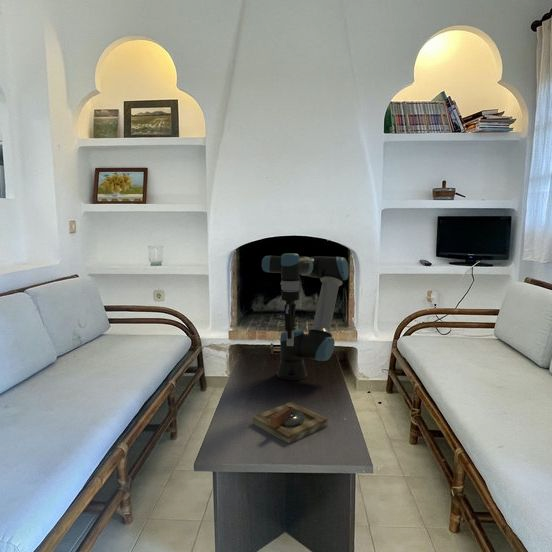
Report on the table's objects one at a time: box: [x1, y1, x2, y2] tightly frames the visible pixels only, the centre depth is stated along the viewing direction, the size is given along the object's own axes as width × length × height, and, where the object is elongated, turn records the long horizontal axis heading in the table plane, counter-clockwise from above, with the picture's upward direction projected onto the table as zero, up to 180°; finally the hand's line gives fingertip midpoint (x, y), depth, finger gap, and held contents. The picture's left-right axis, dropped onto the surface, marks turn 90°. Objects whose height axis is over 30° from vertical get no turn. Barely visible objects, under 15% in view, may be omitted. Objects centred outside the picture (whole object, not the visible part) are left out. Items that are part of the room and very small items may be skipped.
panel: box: [252, 401, 329, 444], centre depth 157 cm, size 20×20×3 cm
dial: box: [271, 407, 305, 428], centre depth 154 cm, size 16×11×5 cm, turn 145°
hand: (290, 345), depth 176 cm, fingers closed
